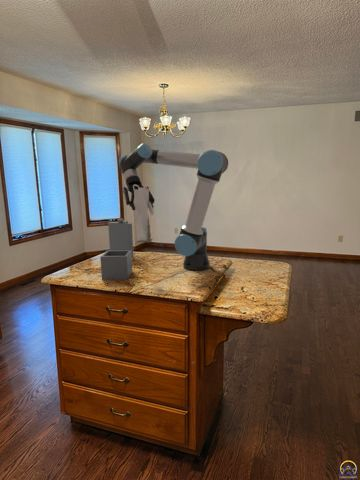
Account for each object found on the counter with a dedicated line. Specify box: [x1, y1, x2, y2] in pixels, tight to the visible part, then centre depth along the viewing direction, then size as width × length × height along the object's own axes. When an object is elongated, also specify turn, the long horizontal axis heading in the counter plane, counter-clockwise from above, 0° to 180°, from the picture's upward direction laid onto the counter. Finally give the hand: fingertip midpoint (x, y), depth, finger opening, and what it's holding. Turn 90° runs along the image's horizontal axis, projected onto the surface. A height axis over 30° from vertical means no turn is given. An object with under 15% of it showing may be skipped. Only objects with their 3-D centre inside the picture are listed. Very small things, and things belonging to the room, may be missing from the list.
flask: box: [107, 218, 134, 259], centre depth 207 cm, size 17×5×25 cm, turn 65°
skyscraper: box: [133, 185, 153, 243], centre depth 159 cm, size 8×8×28 cm
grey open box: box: [99, 250, 134, 281], centre depth 168 cm, size 13×13×12 cm
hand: (145, 214), depth 156 cm, fingers closed on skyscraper, 7 cm apart
